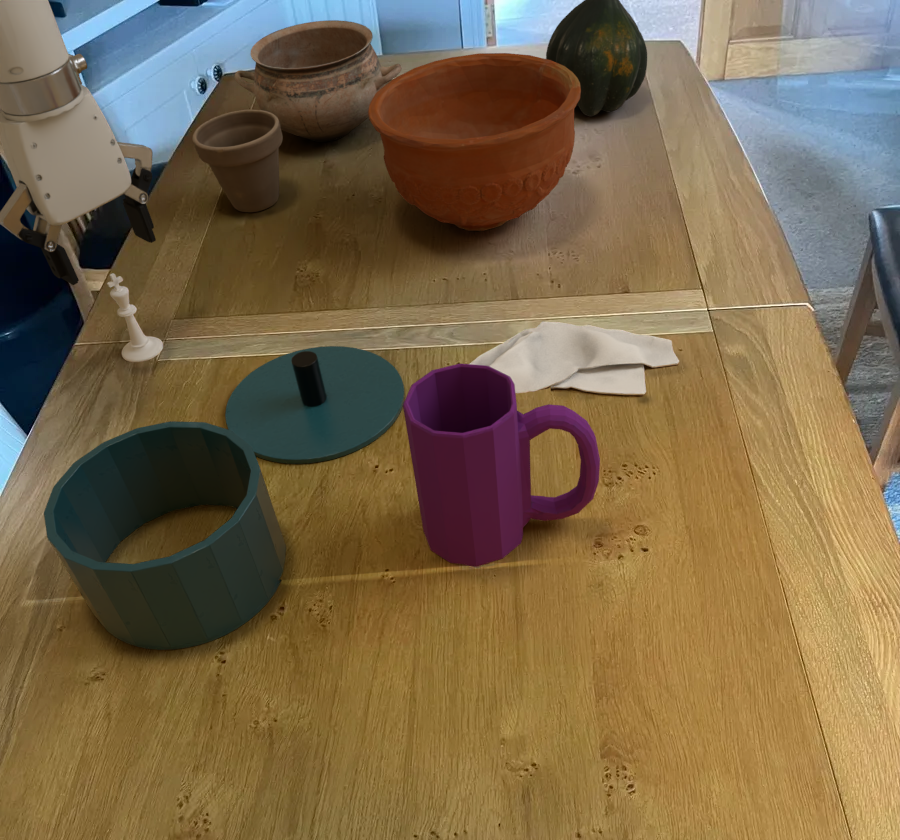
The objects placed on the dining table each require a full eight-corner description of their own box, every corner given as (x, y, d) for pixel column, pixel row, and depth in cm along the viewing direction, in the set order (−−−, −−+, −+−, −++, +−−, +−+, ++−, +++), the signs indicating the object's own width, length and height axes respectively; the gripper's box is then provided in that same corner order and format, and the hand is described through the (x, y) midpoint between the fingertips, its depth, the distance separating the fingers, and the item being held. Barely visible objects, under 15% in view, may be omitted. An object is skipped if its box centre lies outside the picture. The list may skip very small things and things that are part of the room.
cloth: (669, 318, 102) (671, 299, 100) (686, 396, 93) (688, 377, 92) (433, 333, 105) (430, 315, 103) (427, 411, 96) (424, 393, 94)
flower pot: (203, 224, 126) (179, 149, 119) (226, 183, 133) (205, 110, 126) (285, 221, 124) (267, 145, 117) (303, 180, 132) (287, 106, 124)
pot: (70, 658, 79) (18, 580, 71) (115, 510, 90) (74, 429, 83) (276, 643, 78) (245, 561, 70) (294, 495, 89) (269, 412, 82)
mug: (423, 501, 87) (402, 367, 76) (591, 487, 86) (594, 349, 75) (424, 574, 81) (402, 440, 70) (604, 559, 80) (610, 422, 69)
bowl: (607, 240, 114) (612, 112, 102) (408, 284, 112) (390, 158, 100) (545, 155, 130) (543, 36, 118) (369, 192, 128) (350, 75, 116)
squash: (541, 95, 130) (613, -10, 122) (515, 61, 140) (580, -38, 132) (613, 151, 137) (685, 55, 129) (583, 115, 147) (648, 24, 140)
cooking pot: (420, 102, 145) (410, 14, 136) (396, 159, 133) (383, 66, 124) (267, 107, 150) (247, 22, 140) (231, 163, 138) (207, 74, 128)
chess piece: (173, 350, 107) (144, 271, 100) (138, 371, 105) (105, 292, 98) (149, 336, 110) (118, 257, 102) (114, 356, 108) (80, 277, 100)
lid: (216, 476, 92) (197, 427, 88) (239, 363, 104) (224, 314, 100) (404, 460, 91) (395, 409, 86) (406, 347, 103) (398, 297, 99)
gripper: (94, 46, 91) (155, 213, 104) (-68, 115, 84) (19, 285, 97) (137, 61, 87) (194, 233, 100) (-29, 134, 80) (56, 309, 93)
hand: (108, 258), depth 99 cm, fingers open, 9 cm apart
